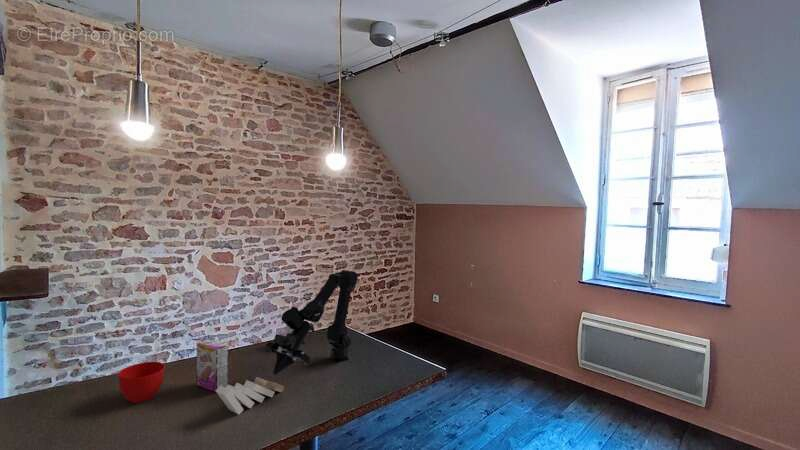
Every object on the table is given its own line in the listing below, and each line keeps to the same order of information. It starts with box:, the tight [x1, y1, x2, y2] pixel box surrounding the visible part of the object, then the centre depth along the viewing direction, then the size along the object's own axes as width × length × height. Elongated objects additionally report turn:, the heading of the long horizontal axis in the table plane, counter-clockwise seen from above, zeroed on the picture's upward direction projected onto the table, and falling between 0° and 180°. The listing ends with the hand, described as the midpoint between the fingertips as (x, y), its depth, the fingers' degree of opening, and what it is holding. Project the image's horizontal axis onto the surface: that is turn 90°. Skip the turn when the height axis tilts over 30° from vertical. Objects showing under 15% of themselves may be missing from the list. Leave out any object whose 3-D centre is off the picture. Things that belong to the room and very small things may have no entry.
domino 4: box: [243, 379, 276, 398], centre depth 128 cm, size 2×5×10 cm
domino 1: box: [215, 385, 244, 416], centre depth 118 cm, size 2×5×10 cm
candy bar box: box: [196, 338, 229, 394], centre depth 135 cm, size 11×5×16 cm, turn 65°
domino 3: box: [233, 382, 266, 404], centre depth 124 cm, size 2×5×10 cm
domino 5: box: [253, 376, 285, 393], centre depth 131 cm, size 2×5×10 cm
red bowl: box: [118, 361, 166, 404], centre depth 128 cm, size 13×17×10 cm
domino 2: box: [226, 384, 255, 409], centre depth 121 cm, size 2×5×10 cm
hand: (274, 374), depth 133 cm, fingers closed
